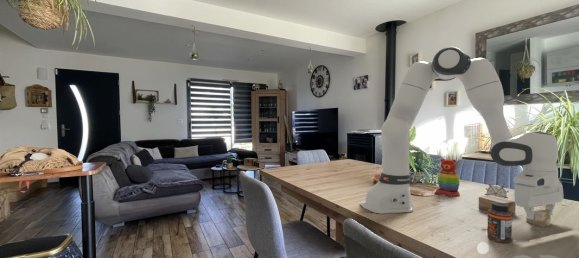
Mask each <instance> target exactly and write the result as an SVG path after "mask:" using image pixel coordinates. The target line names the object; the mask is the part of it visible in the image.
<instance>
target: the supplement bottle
mask: <svg viewBox="0 0 579 258" xmlns="http://www.w3.org/2000/svg"><path fill="white" fill-rule="evenodd" d="M512 228H513V217H512V214H511V213H510V212H509V211H508V205H507V204H505V203H500V202H492V208H491V209H489V210H488V214H487V228H486V229H487V231H486V233H487V238H488V239H490V240H491V241H494V242H497V243H502V244H509V243H511V242H512V239H513V238H512V237H513V235H512V234H513V229H512Z"/></svg>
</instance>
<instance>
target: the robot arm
mask: <svg viewBox="0 0 579 258" xmlns="http://www.w3.org/2000/svg"><path fill="white" fill-rule="evenodd" d="M454 79H458V80H459V81H461V83H462V85H463V87H464V91H465V93H466V96H467V98H468V100H469V102H470V104H471V105H472V107H473V108H474V109H475V111H477V112H478V113H479V115H480V116H481V117H482V119H483V120H484V123H485V125H486V128H487V130H488V133H489V136H490V141H491V142H490V147H489V153H490V157H491V159H492V160H493V162H494V163H496V164H497V165H499V166H501V167H506V168H507V167H508V168H509V167H520V166H522V170H521V172H520V173H519V174H517V175H515V176H514V177H513V183H514V184H515V186H514V195H513V196H514V201H515V203H516V205H517V207H520V208H523V209H524V211H525V214H526V219H527V218H528V219H531V220H533V219H535V214H534V213H533V210H534V207H536V208H538V207H541V206H545V208H544V210H548V211H551V216H553V212H554V209H555V208H556V207H555V206H556V203H561V202H562V203H563V200H564V188H563V184H562V182H561V181H560V178H559V170H558V169H559V168H558V166H557V161H558V159H559V147H558V145H559V144H558V141H557V137H556V136H554V134H551V133H550V132H545V131H544V132H543V131H536V130H527V131H525V132H523V133H521V134H519V135H516V136H514V137H513V136H512V134H511V132H510V130H509V129H510V128H509V126H508V123H507V121H506V118H505V116H504V102H505V95H504V89H503V85H502V82H501V79H500V77H499V75H498V73H497V71H496V69H495V67H494V65H493V64H492V63H491V61H490V60H489V59H487V58H483V57H478V58H473V59H472V58H471V56H469V55H468V54H467V53H465V52H463V50H461V49H460V48H459V47H458V48H457V47H455V46H447V47H443V48H442V49H440V50H439V51H437V52H436V54H435V55H434V56H433V59H432V60H431V61H429V62H426V61H415V62H414V63H412V64H411V65H410V67H409V69H407V71H406V74H405V75H404V77H403V78H402V81H401V83H400V85H399V88H398V90H397V92H396V95H395V97H394V99H393V102H392V104H391V107H390V110H389V112H388V115H387V117H386V119H385V121H384V122H383V124H382V125H381V130H380V131H381V132H380V133H381V152H382V153H381V155H382V157H381V159H382V161H381V162H382V167H381V168H382V170H381V171H382V172H381V173H380V174H378V173H375V174H374V176H373V177H374V179H377V180H378V182H376V183H375V184H374V185H373V186H372V187H371V188H370V189H369V190H368V191H367V192H366V195H365V200H362V201H360V207H362V208H364V209H365V210H368V211H369V212H372V213H375V214H397V213H412V212H414V205H413V201H412V194H411V188H410V187H411V186H410V185H411V184H410V183H411V174H410V148H411V147H410V142H411V141H410V140H411V139H410V138H411V137H410V136H411V135H410V133H411V129H412V127H413V124H414V122H415V120H416V117H417V116H418V114H419V112H420V110H421V108H422V105H423V103H424V100H425V98H426V96H427V94H428V92H429V89H430V87H431V86H432V83H433V82H434V81H435V82H437V81H439V82H440V81H441V82H448V81H453V80H454Z"/></svg>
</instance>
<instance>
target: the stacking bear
mask: <svg viewBox="0 0 579 258" xmlns="http://www.w3.org/2000/svg"><path fill="white" fill-rule="evenodd" d="M440 168H441V169H440V170H439V173H438V176H437V183H438V188H437V189H435V190H436V192H435V193H434V194H435V195H437V196H439V195H440V196H447V197H450V198H457V197H458V198H459V197H460V195H461V193H460V192H459V187H460V178H459V175H458V172H457V171H456V168H457V160H456V159H454V158H453V159H449V158H448V159H447V158H446V159H445V158H441V159H440Z"/></svg>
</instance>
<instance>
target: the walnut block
mask: <svg viewBox="0 0 579 258" xmlns="http://www.w3.org/2000/svg"><path fill="white" fill-rule="evenodd" d="M492 202H500V203H505V204H507V205H508V211H509V212H510V213H511V214H512V215H514V214H515V212H516V203H515V200H512V199H509V198H505V199H504V198H501V197H497V196H493V195H488V196H487V195H481V196H478V207H479V209H480V210H484V211H487V212H488V210H489V209H491V208H492Z"/></svg>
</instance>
